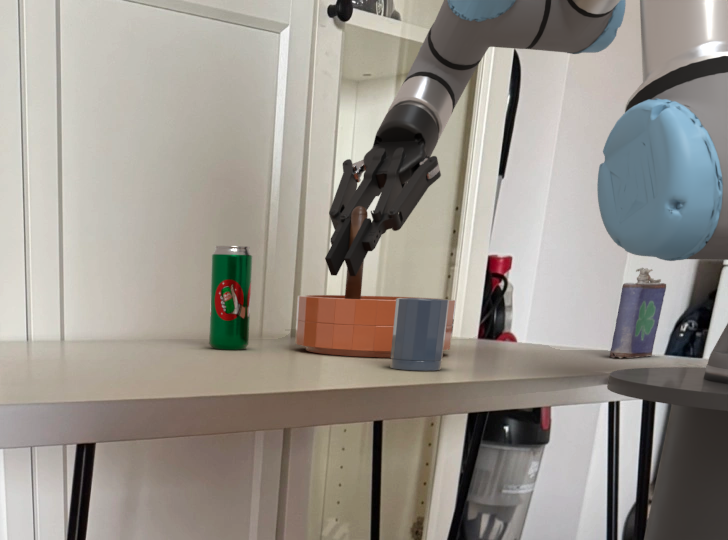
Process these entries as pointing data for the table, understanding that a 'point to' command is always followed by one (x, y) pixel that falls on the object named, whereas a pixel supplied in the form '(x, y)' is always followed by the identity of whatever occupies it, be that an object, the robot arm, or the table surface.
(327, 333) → the bowl
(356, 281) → the stirring stick
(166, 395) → the table surface
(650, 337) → the flask
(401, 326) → the crock
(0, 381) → the table surface
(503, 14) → the robot arm
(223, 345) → the soda can
